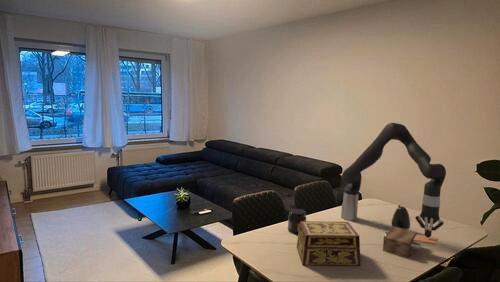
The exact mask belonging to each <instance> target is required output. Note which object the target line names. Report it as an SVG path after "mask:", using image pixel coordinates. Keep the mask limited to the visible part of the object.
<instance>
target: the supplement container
mask: <svg viewBox="0 0 500 282" xmlns="http://www.w3.org/2000/svg"><path fill="white" fill-rule="evenodd" d="M288 211H289V212H288V213H289V214H288V217H287V218H288V221H287V230H288V232H290V233H292V234H297V235H298V233H299V226H300V221H307V216H306V210H304V209H301V208H291V209H289V210H288Z"/></svg>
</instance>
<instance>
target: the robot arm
mask: <svg viewBox="0 0 500 282" xmlns="http://www.w3.org/2000/svg"><path fill="white" fill-rule="evenodd" d="M391 140H393V141H394V140H395V141H399V142H400V143H402V144H403V145H404V146H405V148H406V151H407V153H408V155H409V157H410V158H411V160H413V162H414V163H416V164H417V167H418V169H419V171H420V172H421V175H422V176H423V177H425V178H426V179H428V180H429V181H428V182H426V183H424V186H423V187H424V188H423V196H422V205H421V212H420V214H419V215H416V216H415V217H414V218H415V220H416V222H417V223H418V224H419V227H421V228H422V229H424V236H426V237H428V238H429V237H432V232H433V231H434V232H435V231H437V230H438V229H439V228H440V227H442V226H443V225H444V223H445V221H443V220H442V219H440V206H441V189H442V186H443V183H444V181H445V179H446V176H447V169H446V167H445V165H443V164H441V163H431V162H432V161H431V160H432V158H431V156H430V155H429V153H427V152H426V151H425V150H424V148H423V147H421V145H419V143H418V142H417V141H416V139H415V138H414V137H413V136H412V133H410V131H409V130H408V128H407V127H406V126H405V125H404V124H401V123H397V122H390V123H388V124H386V125H385V126H384V128H382V130H381V132H379V134H378V135H377V136H376V138H375V139H374V140H373V141H372V142H371V144H370V145H369V146H367V148H366V149H365V150H364V151H363V152H362V153H361V154H360V155H359V157H357V159H356V160H355V161H354V162H353V163H351V165H349V166H348V167H347V168H345V169H344V171H343V172H342V175H341V179H342V181H343V182H344V183H345V184H347V185H346V186H345V187H344V188H343V201H342V203H341V212H340V213H341V214H340V218H342V219H344V220H345V221H353V222H354V221H357V220H358V208H359V206H358V205H359V193H360V190H361V184H362V172H363V171H364V170H365V171H366V170H367V169H368V168H370V167H372V166H373V165H374V164H376V162H378V161H379V160H380V158H381V157H382V155H383V152H384V148H385V146H386V145H387V144H388V143H389V142H390V141H391ZM423 222H424V223H423ZM436 223H437V224H436ZM434 224H436V225H434Z"/></svg>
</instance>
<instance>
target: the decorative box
mask: <svg viewBox="0 0 500 282" xmlns="http://www.w3.org/2000/svg"><path fill="white" fill-rule="evenodd" d="M296 240H297V241H296V250H297V254H298V256H299V259H300V262H301V265H302V266H306V267H307V266H312V267H313V266H314V267H316V266H317V267H318V266H321V267H324V266H325V267H361V244H360V243H361V242H360V240H361V239H360V235H359V234H358V232H357V230H355V228H354V227H353V226H352V224H351V223H349V221H314V220H313V221H310V220H308V221H307V220H306V221H300V226H299V233H298V234H297V239H296Z"/></svg>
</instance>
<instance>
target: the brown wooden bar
mask: <svg viewBox="0 0 500 282" xmlns="http://www.w3.org/2000/svg"><path fill="white" fill-rule="evenodd" d="M387 233H388V231H386V232H385V233H384V235H383V237H384V236H385V235H386V234H387ZM411 248H413V250H417V251H421V249H422V243H419V242H413V241H412V245H411Z"/></svg>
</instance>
